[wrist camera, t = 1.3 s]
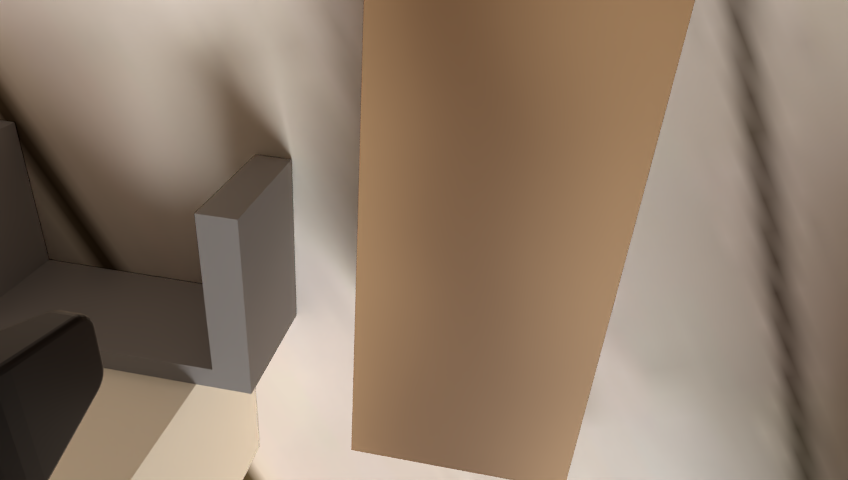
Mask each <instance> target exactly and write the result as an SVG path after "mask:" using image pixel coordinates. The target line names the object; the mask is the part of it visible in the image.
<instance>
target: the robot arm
mask: <svg viewBox="0 0 848 480" xmlns="http://www.w3.org/2000/svg"><path fill="white" fill-rule="evenodd" d="M103 372H104V368H103V362H102V358H101V353H100V349H99V344H98V340H97V336H96V331H95V327H94V323H93V321H92V320H91V319H90V318H89V316H87V315H85V314H81V313H75V312H69V311H63V310H51V311H48V312H45V313H43V314H40V315H38V316H35V317H32V318H30V319H27V320H25V321H22V322H19V323H17V324H14V325H12V326H9V327H7V328H4V329H1V330H0V480H49V479H50V477H51V475H52V473H53V471H54V470H55V468H56V466H57V464H58V462H59V461H60V459H61V457H62V455H63V453H64V452H65V450H66V448H67V446H68V444H69V443H70V441H71V439H72V437H73V435H74V434H75V432H76V430H77V428H78V427H79V425H80V423H81V421H82V419H83V418H84V416H85V414H86V412H87V410H88V409H89V407H90V405H91V403H92V401H93V400H94V398H95V396H96V394H97V392H98V391H99V388H100V386H101V383H102V380H103Z"/></svg>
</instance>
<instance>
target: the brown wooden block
mask: <svg viewBox="0 0 848 480" xmlns="http://www.w3.org/2000/svg"><path fill="white" fill-rule="evenodd" d="M694 2H695V0H364V11H363V47H362V84H361V120H360V157H359V193H358V230H357V266H356V302H355V339H354V375H353V412H352V448H351V450H355V451H360V452H366V453H371V454H376V455H382V456H387V457H393V458H398V459H403V460H409V461H414V462H419V463H425V464H430V465H435V466H441V467H446V468H451V469H457V470H462V471H467V472H473V473H478V474H484V475H489V476H494V477H500V478H505V479H510V480H567V476H568V472H569V468H570V465H571V461H572V457H573V454H574V450H575V446H576V442H577V439H578V435H579V431H580V427H581V424H582V420H583V416H584V413H585V409H586V405H587V401H588V398H589V394H590V390H591V386H592V383H593V379H594V375H595V372H596V368H597V364H598V360H599V357H600V353H601V349H602V345H603V342H604V338H605V334H606V331H607V327H608V323H609V319H610V316H611V312H612V308H613V304H614V301H615V297H616V293H617V290H618V286H619V282H620V278H621V275H622V271H623V267H624V263H625V260H626V256H627V252H628V249H629V245H630V241H631V237H632V234H633V230H634V226H635V222H636V219H637V215H638V211H639V208H640V204H641V200H642V196H643V193H644V189H645V185H646V181H647V178H648V174H649V170H650V167H651V163H652V159H653V155H654V152H655V148H656V144H657V140H658V137H659V133H660V129H661V125H662V122H663V118H664V114H665V111H666V107H667V103H668V99H669V96H670V92H671V88H672V84H673V81H674V77H675V73H676V70H677V66H678V62H679V58H680V55H681V51H682V47H683V43H684V40H685V36H686V32H687V29H688V25H689V21H690V17H691V14H692V10H693V6H694Z"/></svg>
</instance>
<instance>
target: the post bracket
mask: <svg viewBox="0 0 848 480" xmlns="http://www.w3.org/2000/svg"><path fill="white" fill-rule="evenodd" d="M194 215H195V224H196V232H197V241H198V249H199V258H200V267H201V275H202V284H199V283H192V282H186V281H180V280H174V279H167V278H161V277H155V276H148V275H142V274H136V273H129V272H123V271H117V270H110V269H104V268H98V267H91V266H85V265H79V264H73V263H66V262H60V261H54V260H49V258H48V254H47V250H46V246H45V242H44V238H43V234H42V230H41V226H40V222H39V218H38V214H37V210H36V206H35V202H34V198H33V194H32V190H31V186H30V182H29V178H28V174H27V170H26V166H25V162H24V159H23V155H22V151H21V147H20V143H19V139H18V135H17V131H16V127H15V123H14V122H10V121H2V120H0V330H1V329H4V328H7V327H9V326H12V325H14V324H17V323H19V322H22V321H25V320H27V319H30V318H32V317H35V316H38V315H40V314H43V313H45V312H48V311H51V310H63V311H69V312H75V313H81V314H85V315H87V316H89V318H90V319H91V320H92V321H93V323H94V327H95V331H96V336H97V340H98V344H99V349H100V353H101V358H102V362H103V368H104V372H103V380H102V383H101V386H100V388H99V391H98V392H97V394H96V396H95V398H94V400H93V401H92V403H91V405H90V407H89V409H88V410H87V412H86V414H85V416H84V418H83V419H82V421H81V423H80V425H79V427H78V428H77V430H76V432H75V434H74V435H73V437H72V439H71V441H70V443H69V444H68V446H67V448H66V450H65V452H64V453H63V455H62V457H61V459H60V461H59V462H58V464H57V466H56V468H55V470H54V471H53V473H52V475H51V477H50V479H49V480H243V478H244V476H245V474H246V472H247V470H248V468H249V466H250V465H251V463H252V461H253V459H254V457H255V455H256V453H257V451H258V449H259V447H260V444H259V431H258V418H257V405H256V391H255V387H256V385H257V383H258V382H259V380H260V378H261V376H262V375H263V373H264V371H265V369H266V368H267V366H268V364H269V362H270V361H271V359H272V357H273V355H274V354H275V352H276V350H277V348H278V347H279V345H280V343H281V341H282V340H283V338H284V336H285V334H286V333H287V331H288V329H289V327H290V326H291V324H292V322H293V320H294V318H295V317H296V285H295V254H294V222H293V190H292V160H291V159H284V158H276V157H269V156H262V155H255V156H254V157H252V158H251V159H250V160H249V161H248V162H247V163H246V164H245V165H244V166H243V167H242V168H241V169H240V170H239V171H238V172H237V173H236V174H235V175H234V176H233V177H232V178H231V179H230V180H229V181H228V182H227V183H225V184H224V185H223V186H222V187H221V188H220V189H219V190H218V191H217V192H216V193H215V194H214V195H213V196H212V197H211V198H210V199H209V200H208V201H207V202H206V203H205V204H204V205H203V206H202V207H201V208H199V209H198V210H197V211H196V212H195V213H194Z"/></svg>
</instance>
